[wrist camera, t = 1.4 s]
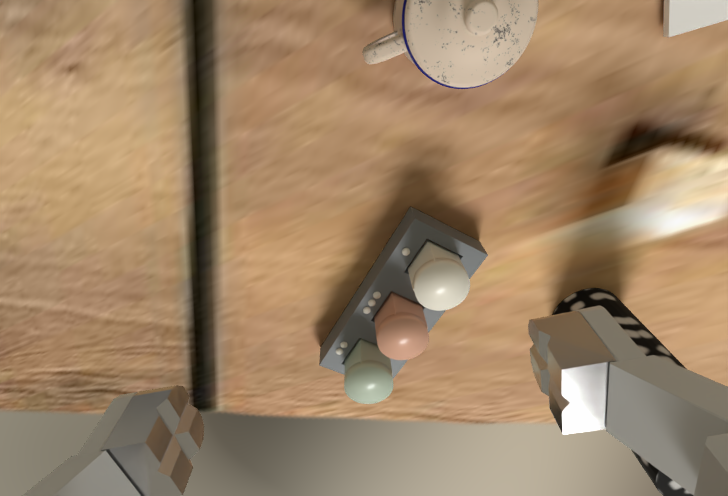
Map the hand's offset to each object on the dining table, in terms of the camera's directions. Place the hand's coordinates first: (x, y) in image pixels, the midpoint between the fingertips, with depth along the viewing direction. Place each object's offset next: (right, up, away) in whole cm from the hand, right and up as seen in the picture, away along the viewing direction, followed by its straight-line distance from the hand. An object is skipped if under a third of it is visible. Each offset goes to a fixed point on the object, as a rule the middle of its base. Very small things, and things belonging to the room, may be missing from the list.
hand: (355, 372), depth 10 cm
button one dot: (+7, +1, +35) cm, 35 cm away
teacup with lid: (+6, +22, +27) cm, 35 cm away
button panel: (+4, -3, +40) cm, 40 cm away
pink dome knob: (+4, -4, +37) cm, 38 cm away
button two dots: (+1, -10, +40) cm, 41 cm away
